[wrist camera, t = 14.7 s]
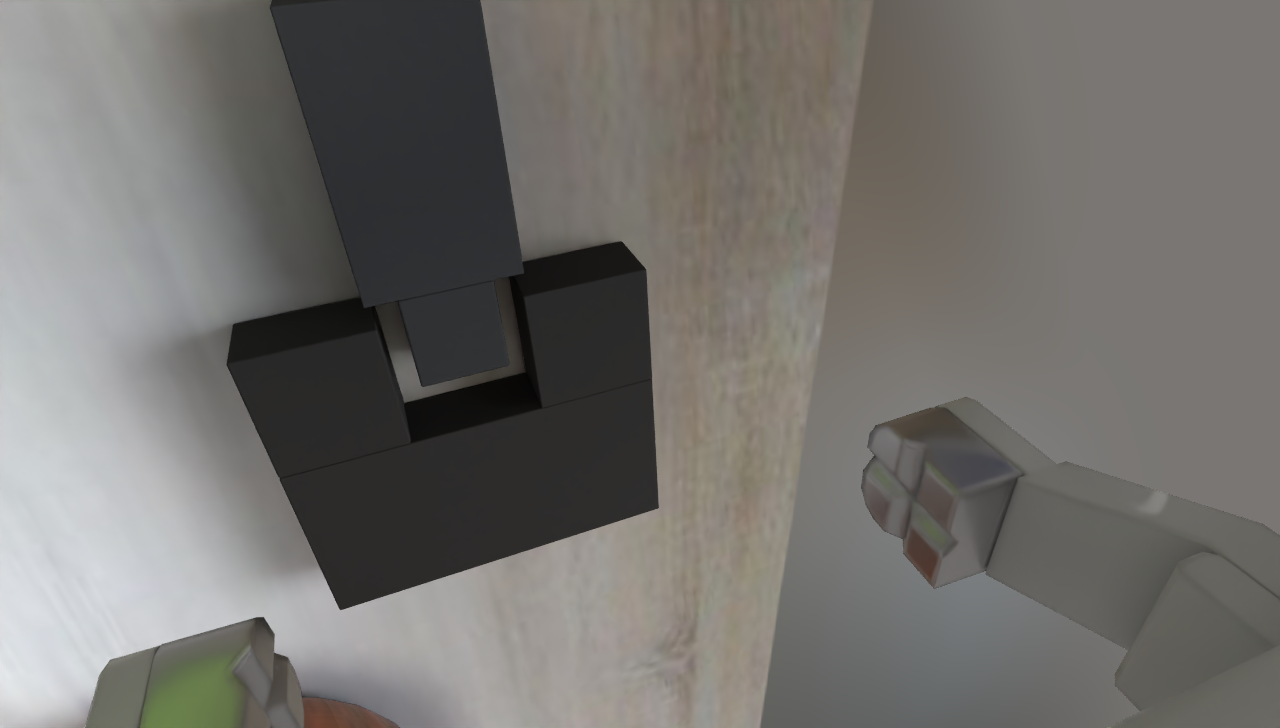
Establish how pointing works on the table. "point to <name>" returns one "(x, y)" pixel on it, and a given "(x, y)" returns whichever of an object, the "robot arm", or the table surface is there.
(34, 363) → the table surface
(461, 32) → the pad
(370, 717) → the bowl
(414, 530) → the black u-shaped block
